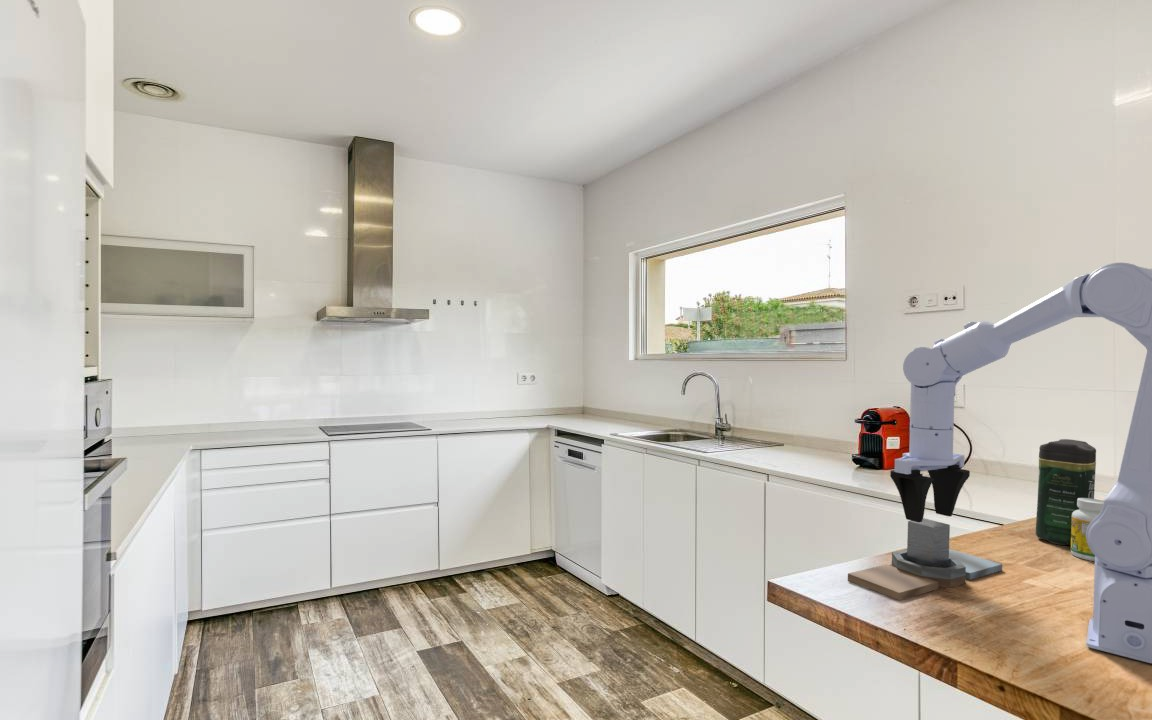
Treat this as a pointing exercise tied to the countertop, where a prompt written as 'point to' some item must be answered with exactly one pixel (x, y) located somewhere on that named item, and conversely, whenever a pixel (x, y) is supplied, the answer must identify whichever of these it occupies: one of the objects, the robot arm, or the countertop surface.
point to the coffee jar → (1063, 486)
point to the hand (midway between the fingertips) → (929, 517)
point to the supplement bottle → (1083, 526)
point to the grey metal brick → (928, 543)
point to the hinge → (922, 574)
